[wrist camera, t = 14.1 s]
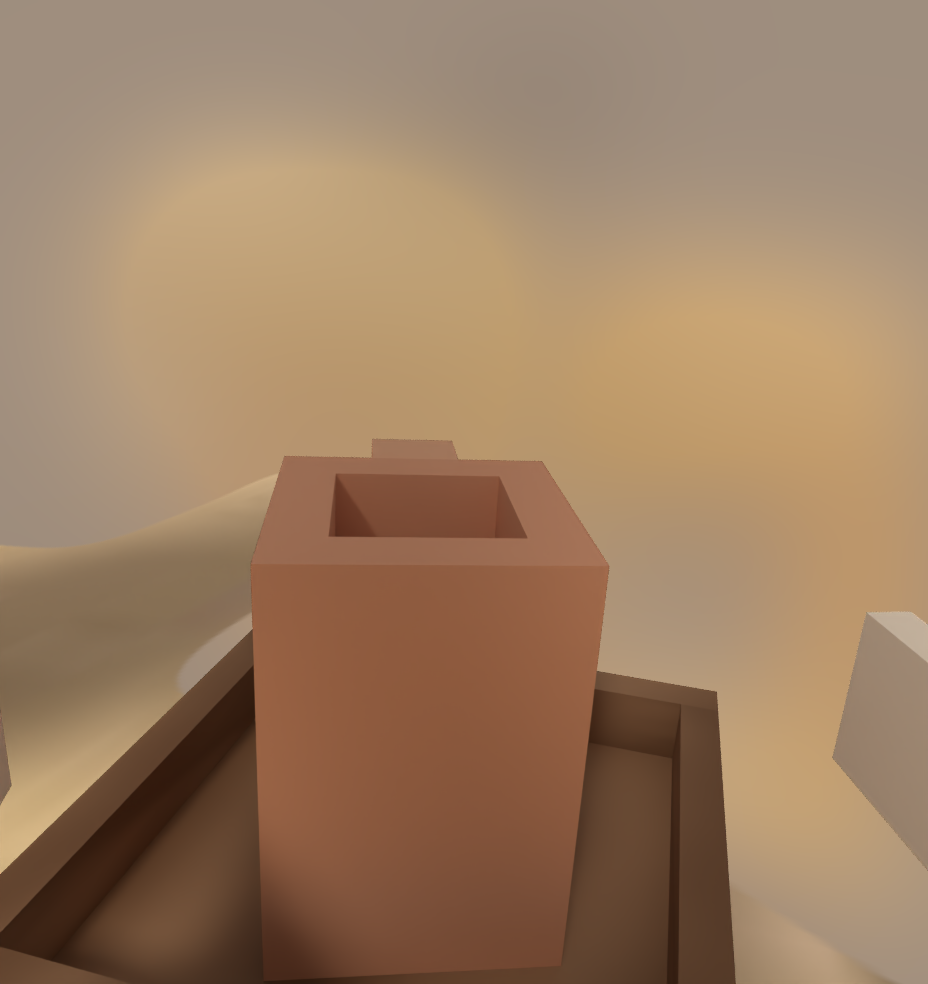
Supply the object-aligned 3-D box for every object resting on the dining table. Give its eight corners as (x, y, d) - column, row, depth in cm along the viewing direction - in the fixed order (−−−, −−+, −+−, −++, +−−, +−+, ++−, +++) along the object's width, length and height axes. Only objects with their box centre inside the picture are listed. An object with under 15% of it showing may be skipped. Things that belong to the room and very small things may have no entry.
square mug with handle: (263, 981, 17) (250, 563, 14) (294, 745, 24) (290, 437, 21) (561, 965, 17) (609, 566, 15) (505, 741, 25) (529, 442, 22)
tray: (-83, 1077, 15) (-105, 976, 14) (269, 679, 28) (267, 614, 27) (724, 1342, 12) (752, 1233, 12) (704, 761, 25) (716, 691, 24)
